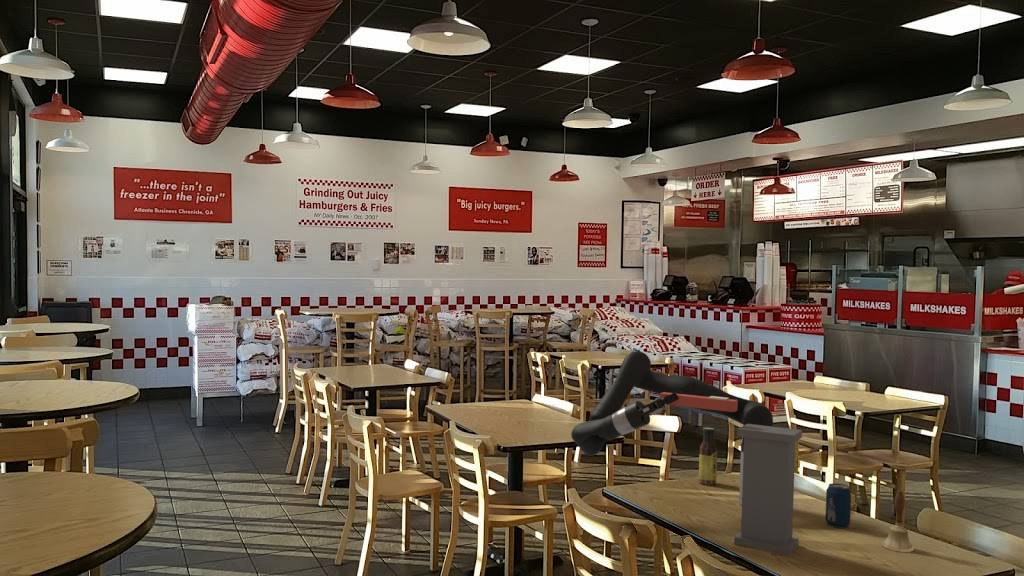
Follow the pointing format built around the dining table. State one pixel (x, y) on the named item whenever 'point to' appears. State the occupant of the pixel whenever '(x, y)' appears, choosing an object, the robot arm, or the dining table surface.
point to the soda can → (838, 505)
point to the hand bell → (898, 527)
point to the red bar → (704, 402)
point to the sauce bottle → (708, 458)
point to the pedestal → (768, 488)
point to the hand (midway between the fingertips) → (679, 394)
